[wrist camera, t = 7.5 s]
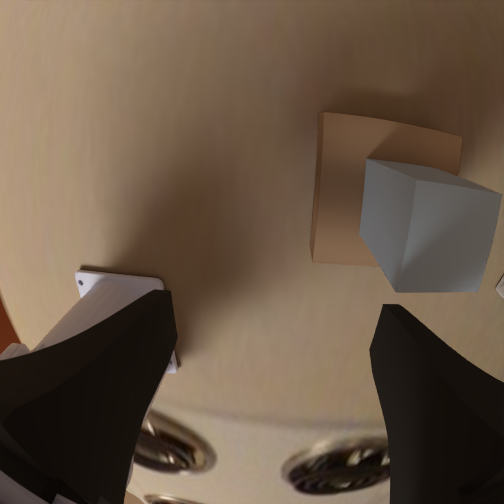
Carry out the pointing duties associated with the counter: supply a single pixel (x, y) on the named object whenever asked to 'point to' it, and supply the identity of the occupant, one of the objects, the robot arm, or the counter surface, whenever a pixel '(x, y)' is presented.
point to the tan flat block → (363, 176)
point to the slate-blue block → (427, 226)
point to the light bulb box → (501, 287)
